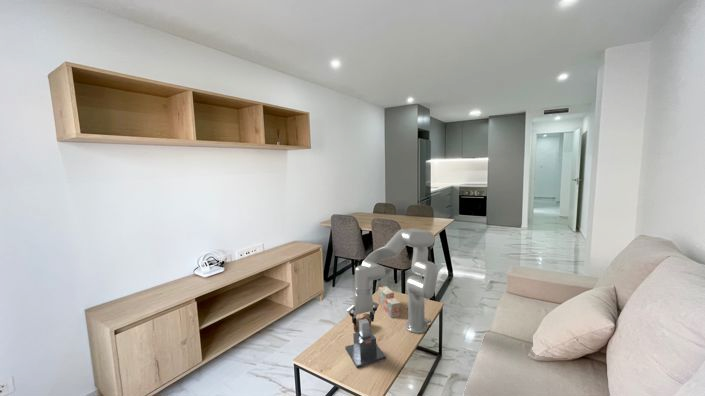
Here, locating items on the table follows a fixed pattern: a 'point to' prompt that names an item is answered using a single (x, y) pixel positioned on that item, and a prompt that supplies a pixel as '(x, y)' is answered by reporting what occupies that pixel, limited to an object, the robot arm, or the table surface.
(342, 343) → the table surface
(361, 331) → the bar
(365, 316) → the tin
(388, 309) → the stack of blocks
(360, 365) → the jack base
